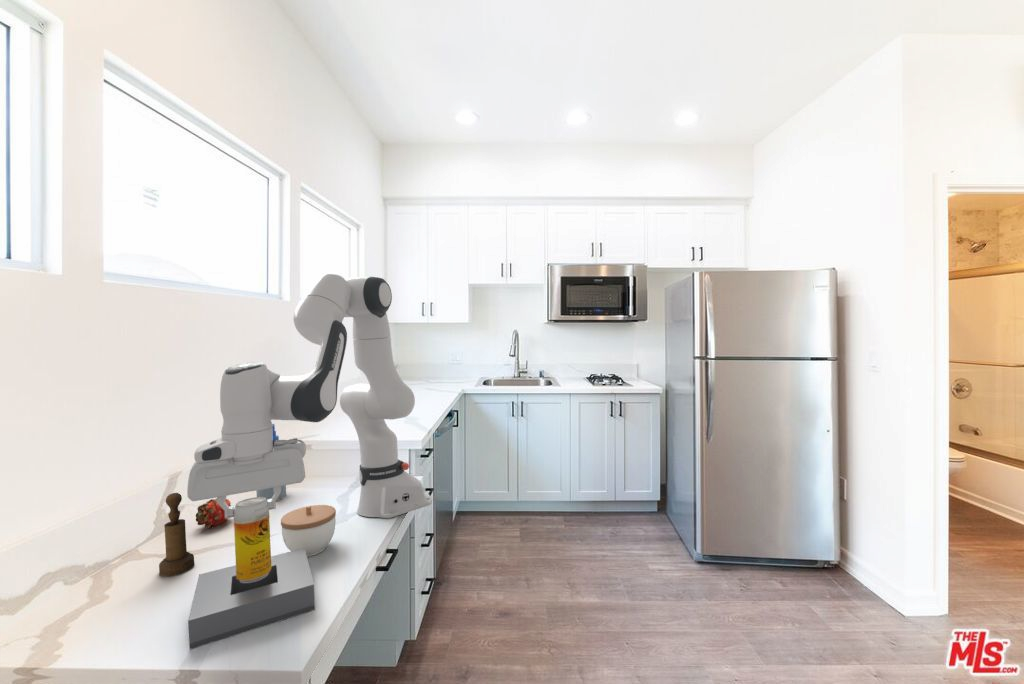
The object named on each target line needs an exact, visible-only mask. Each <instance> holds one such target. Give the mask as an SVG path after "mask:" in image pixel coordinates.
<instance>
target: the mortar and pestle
mask: <svg viewBox="0 0 1024 684" xmlns="http://www.w3.org/2000/svg"><path fill="white" fill-rule="evenodd" d="M182 500H183V497H182V495H181V494H180V493H179V492H174V493H169V494H168V495H167V496H166V499H165V504H166V505H167V507H169V509H170V510H169V513H167V516H168V519H169V522H166V523H165V524H164V540H165V541H164V542H165V557H164V558H163V559H162V561H160V562H159V565H158V571H159V576H160V577H173V576H177V575H181V574H183V573H186V572H189V570H191V569H192V568H194V567H195V555H194V553H191V552H189V551H188V550H187V535H186V534H187V533H186V532H187V531H186V520H185V519H183V518H180V516H181V511H180V510H179V505H180V503H181V502H182Z"/></svg>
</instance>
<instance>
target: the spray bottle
mask: <svg viewBox="0 0 1024 684" xmlns="http://www.w3.org/2000/svg"><path fill="white" fill-rule="evenodd" d="M272 427H273V441H275V440H280V439H279V438H280V436H279V435H277V432H276V431H277V430H276V428H275V427H276V426H275V423H272ZM273 448H274V446H273ZM274 493H275V492H274V491H273V488H267V489H262V490H256V497H265V498H266V500H267V499H272V497H273V495H274ZM286 496H287V485H284V486H281V493H280V494H279V496H278V498H277V499H279V500H281V499H280V498H282V499H283V497H284V498H285V497H286Z"/></svg>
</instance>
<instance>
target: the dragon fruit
mask: <svg viewBox="0 0 1024 684" xmlns="http://www.w3.org/2000/svg"><path fill="white" fill-rule="evenodd" d="M225 502H226V503H227V505H228V506H232V503H231V500H229V499H228V498H226V501H225ZM196 510H197V512H196V514H195V522H197V523H196V524H197V525H198V526H204V527H205V528H209V529H213V528H215V527H216V526H217V525H220V526H222V525H226V523H227V521H228V518H225V510H223V509H222V507H221V506H220V505H219V504H218V503H217V497H216V498H210V499H209V500H208V501H206V503H203V504H201V505H198V507H197V509H196Z"/></svg>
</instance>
